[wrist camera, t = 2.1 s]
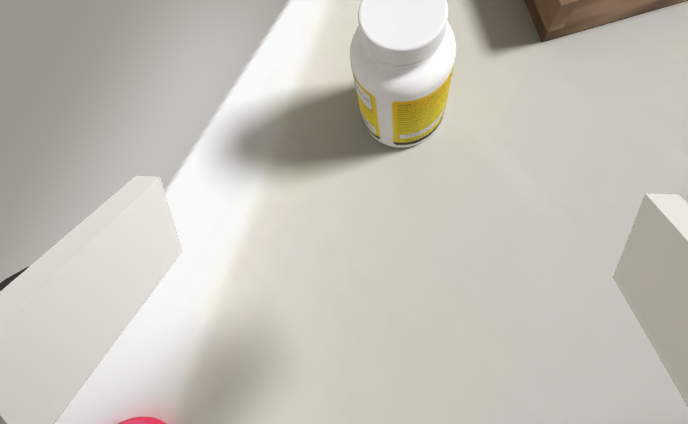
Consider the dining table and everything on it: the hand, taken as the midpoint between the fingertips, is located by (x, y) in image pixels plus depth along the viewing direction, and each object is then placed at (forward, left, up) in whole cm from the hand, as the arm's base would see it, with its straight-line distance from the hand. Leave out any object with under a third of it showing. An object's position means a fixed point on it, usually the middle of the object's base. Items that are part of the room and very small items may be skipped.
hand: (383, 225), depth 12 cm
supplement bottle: (-3, -10, -15) cm, 18 cm away
